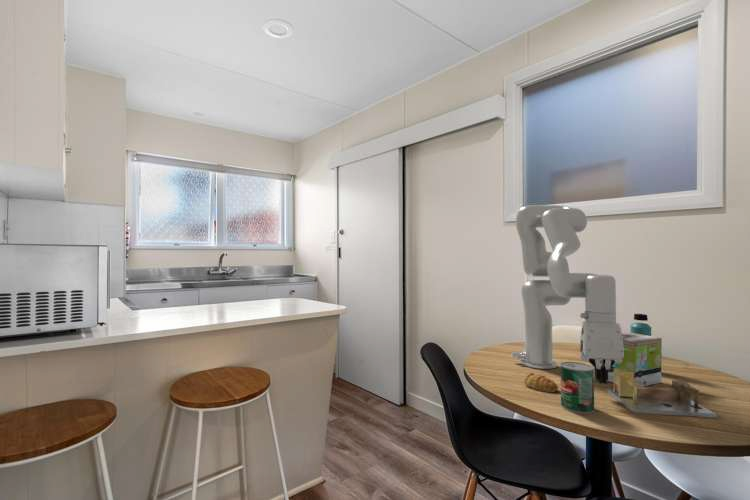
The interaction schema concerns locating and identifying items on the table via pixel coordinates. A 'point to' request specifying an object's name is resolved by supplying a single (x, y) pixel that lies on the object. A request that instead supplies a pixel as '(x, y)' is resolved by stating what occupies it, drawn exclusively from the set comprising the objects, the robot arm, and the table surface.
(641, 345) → the tea box
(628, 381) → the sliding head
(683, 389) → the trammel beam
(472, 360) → the table surface
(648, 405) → the bolt plate
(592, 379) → the canned tomato
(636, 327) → the beverage bottle
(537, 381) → the pastry
